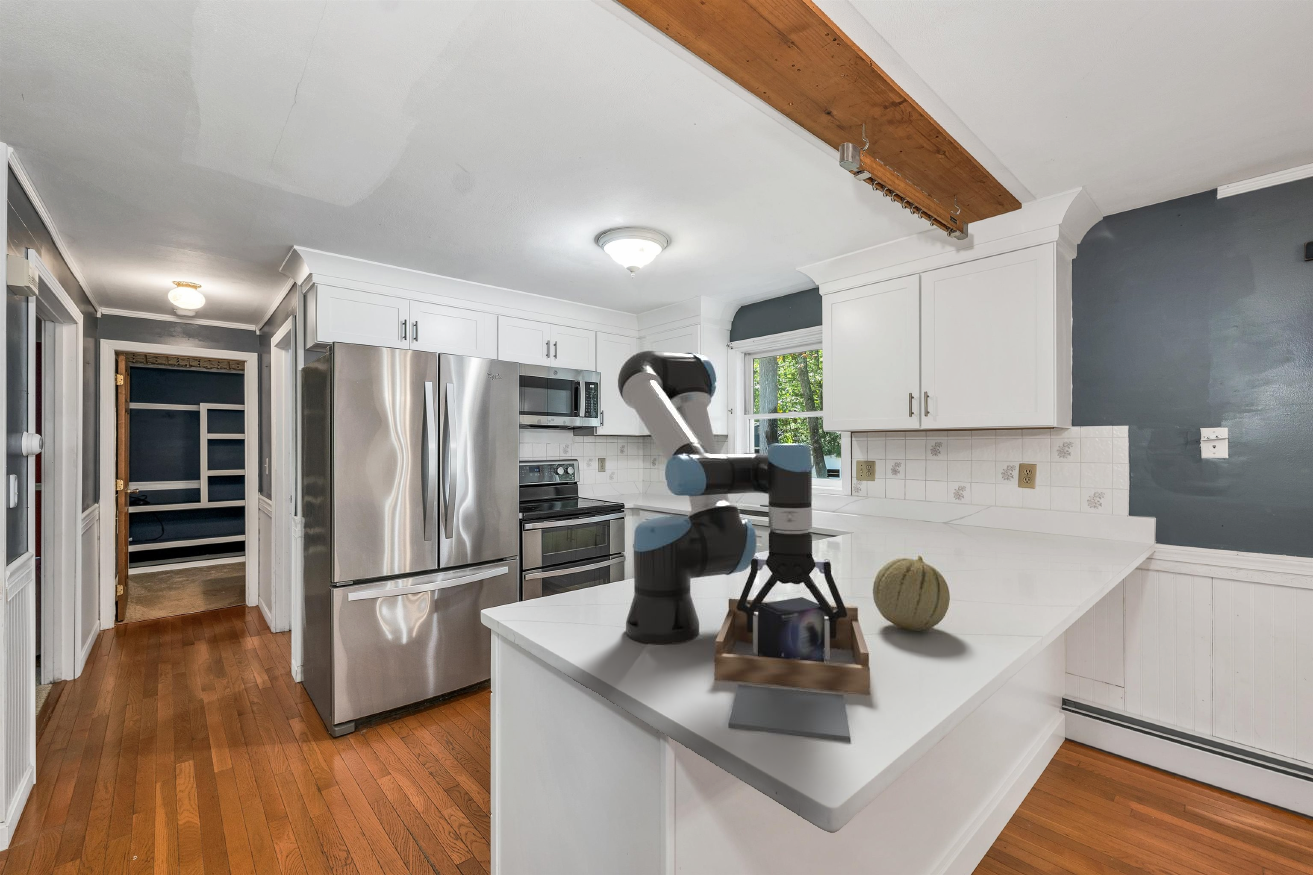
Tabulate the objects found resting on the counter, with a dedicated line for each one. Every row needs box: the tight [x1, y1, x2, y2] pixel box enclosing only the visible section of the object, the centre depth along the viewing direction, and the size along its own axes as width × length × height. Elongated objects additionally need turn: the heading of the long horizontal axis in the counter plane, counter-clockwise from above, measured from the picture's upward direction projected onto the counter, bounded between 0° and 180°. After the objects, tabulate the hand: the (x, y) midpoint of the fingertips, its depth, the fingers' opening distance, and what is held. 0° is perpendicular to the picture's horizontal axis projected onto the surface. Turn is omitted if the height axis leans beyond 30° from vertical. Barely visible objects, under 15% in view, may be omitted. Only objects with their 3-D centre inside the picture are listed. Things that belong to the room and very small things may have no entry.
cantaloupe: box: [872, 555, 951, 632], centre depth 121 cm, size 15×15×15 cm
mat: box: [727, 684, 851, 742], centre depth 84 cm, size 16×13×1 cm
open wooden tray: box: [714, 598, 871, 696], centre depth 103 cm, size 24×20×8 cm
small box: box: [756, 596, 825, 662], centre depth 102 cm, size 11×6×10 cm, turn 117°
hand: (791, 653), depth 102 cm, fingers closed on small box, 11 cm apart
